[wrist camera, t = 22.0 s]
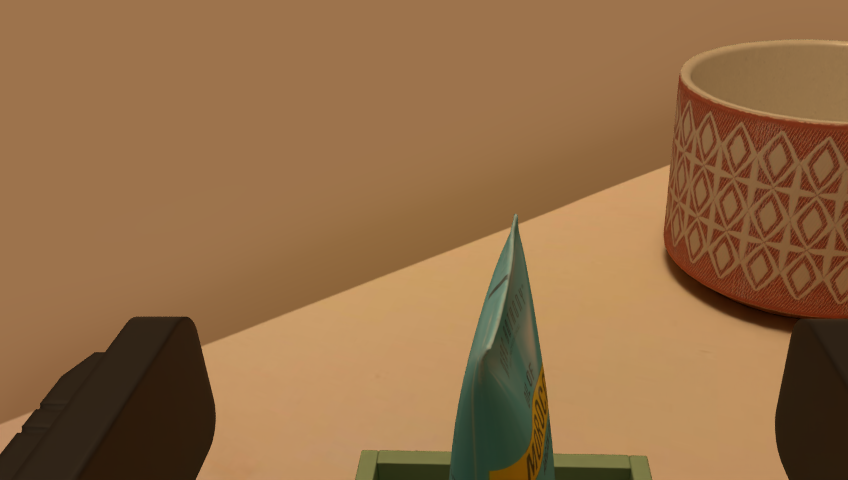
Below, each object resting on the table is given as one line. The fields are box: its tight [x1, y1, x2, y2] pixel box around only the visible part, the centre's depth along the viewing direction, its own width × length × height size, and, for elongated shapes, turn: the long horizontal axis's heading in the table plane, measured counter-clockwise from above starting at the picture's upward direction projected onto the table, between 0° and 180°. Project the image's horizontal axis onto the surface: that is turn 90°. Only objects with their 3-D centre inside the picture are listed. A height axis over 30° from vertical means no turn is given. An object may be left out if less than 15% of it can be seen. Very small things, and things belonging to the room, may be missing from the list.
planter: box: [664, 40, 848, 319], centre depth 56 cm, size 19×19×15 cm
